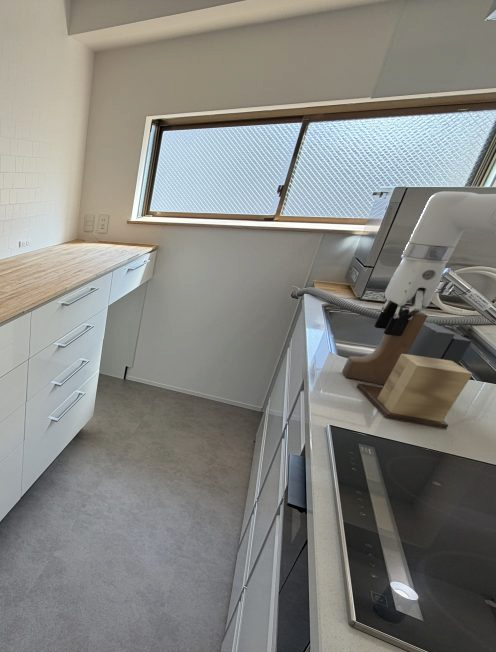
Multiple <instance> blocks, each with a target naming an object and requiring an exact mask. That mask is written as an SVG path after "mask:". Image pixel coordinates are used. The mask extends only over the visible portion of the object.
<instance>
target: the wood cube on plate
mask: <svg viewBox="0 0 496 652" xmlns="http://www.w3.org/2000/svg"><path fill="white" fill-rule="evenodd" d="M472 376H473V373H472V372H471V371H469V370H467V369H466V368H465V367H463V366H461V365H459V363H458V364H456V363H455V362H453V361H450V360H443V359H436V358H429V357H422V356H415V355H408V354H401V355H400V357H399V359H398V361H397V363H396V365H395V366H394V368H393V370H392V372H391V374H390V376H389V378H388V379H387V381H386V383H385V385H383V386H377V385H371V384H365V383H360V382H359V383H358V384H357V385H356V388H357V389H358V390H359V391H360V392H361V393H362V394H363V395H364V397H366V398H367V400H368V401H369V402H370V403H371V404H372V405H373V407H375V408H376V409H377V411H378V412H379V413H380V414H381V415H382V416H383V417H384V418H385V419H389V420H395V421H399V422H400V421H401V422H407V423H411V424H417V425H422V426H428V427H432V428H433V427H434V428H438V429H443V430H447V429H448V427H449V423H447V422H446V421H445V418H446V416H447V415H448V413H449V412H450V411H451V409H452V407H453V406H454V404H455V402H456V401H457V400H458V398H459V396H460V395H461V392H463V390H464V389H465V387H466V385H467V383H468V382H469V381H470V379H471V378H472Z"/></svg>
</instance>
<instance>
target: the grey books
mask: <svg viewBox="0 0 496 652" xmlns="http://www.w3.org/2000/svg"><path fill="white" fill-rule="evenodd" d="M472 342H473V341H472V340H471V339H469V338H466V337H464V336H462V335H461V334H460V333H457V332H455V331H453V330H451V329H449V328H444V327H442V326H441V325H438V324H436V323H435V322H428V321H425V322H424V324H423V326H422V328H421V330H420V331H419V333H418V335H417V337H416V339H415V341H414V342H413V344H412V346H411V348H410V350H409V352H408V353H407V354H408V355H415V356H422V357H429V358H436V359H443V360H450V361H453V362H455V363H456V364H458V365H459V363H460V362H461V360H462V358H463V357H464V355H465V353H466V352H467V350H468V348H469V347H470V346H471V343H472Z"/></svg>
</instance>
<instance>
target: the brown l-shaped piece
mask: <svg viewBox="0 0 496 652" xmlns="http://www.w3.org/2000/svg"><path fill="white" fill-rule="evenodd" d="M405 309H406V308H403V309H402V311H404V310H405ZM395 313H396V312H395ZM394 315H395V314H394ZM393 318H394V316H393ZM427 318H428V314H426V313H424V312H423V311H422V310H421V311H420V312H418V313H416V314H415V315H414V316H413V317H412V319H411V320H409V322H408V324H407V326H406V328H405V330H404V332H403V334H402V335H401V336H393V335H386V334H384V333H383V335H382V338H381V340H380V342H379V343H378V345H377V347H376V348H375V349H374V350H373V351H372V352H371V353H369V354H366V355H364V356H357V355H356V356H355V355H350V356H348V358H347V360H346V362H345V364H344V366H343V368H342V370H341V371H342V374H343V375H344V377H345V378H349V379H353V380H359V381H364V382H368V383H374V384H378V385H383V386H384V385H385V383H386V381H387V379H388V378H389V376H390V374H391V372H392V370H393V368H394V366H395V365H396V363H397V361H398V359H399V357H400V355H401V354H407V353H408V352H409V350H410V348H411V346H412V344H413V342H414V341H415V339H416V337H417V335H418V333H419V331H420V330H421V328H422V326H423V324H424V322H426V321H427Z"/></svg>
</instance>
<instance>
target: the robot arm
mask: <svg viewBox="0 0 496 652" xmlns="http://www.w3.org/2000/svg"><path fill="white" fill-rule="evenodd" d="M416 223H417V224H416V225H415V227H414V230H413V232H412V234H411V235H410V238H409V239H408V242H407V244H406V246H405V248H404V250H403V252H402V254H401V257H400V258H401V259H402V260H401V261H400V263H399V265H398V266H397V268H396V269H395V271H394V273H393V275H392V277H391V278H390V280H389V282H388V285H387V286H386V288H385V292H384V301H383V302H384V304H383V306H382V307H381V310H380V313H379V315H378V317H377V319H376V320H375V323H374V328H376V329H381V330H382V329H383V330H384V331H383V335H384V334H386V335H393V336H401V335H402V334H403V332H404V330H405V328H406V326H407V324H408V322H409V320H411V319H412V317H413V316H414V315H415V314H416V313H418V312H420V311H421V312H422V309H425V308H427V307H429V305H430V304H431V301H432V299H433V297H434V295H435V293H436V291H437V289H438V287H439V285H440V283H441V280H442V277H443V274H444V271H445V268H446V265H447V263H448V262H449V260H450V258H451V257H452V255H453V253H454V251H455V249H456V247H457V245H458V243H459V241H460V239H461V237H462V236H463V233H464V232H465V231H466V230H468V231H474V232H479V233H485V234H488V235H489V234H491V235H496V193H476V192H471V191H445V190H444V191H438V192H435V193H433V194H432V195H431V196H430V197H429V199H428V201H427V202H426V205H425V207H424V208H423V211H422V213H421V215H420V217H419V219H418V221H417V222H416ZM408 304H409V305H408ZM410 304H411V305H410ZM402 309H405V310H404V311H402ZM395 312H396V313H395ZM394 314H395V315H394ZM393 316H394V318H393Z"/></svg>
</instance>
